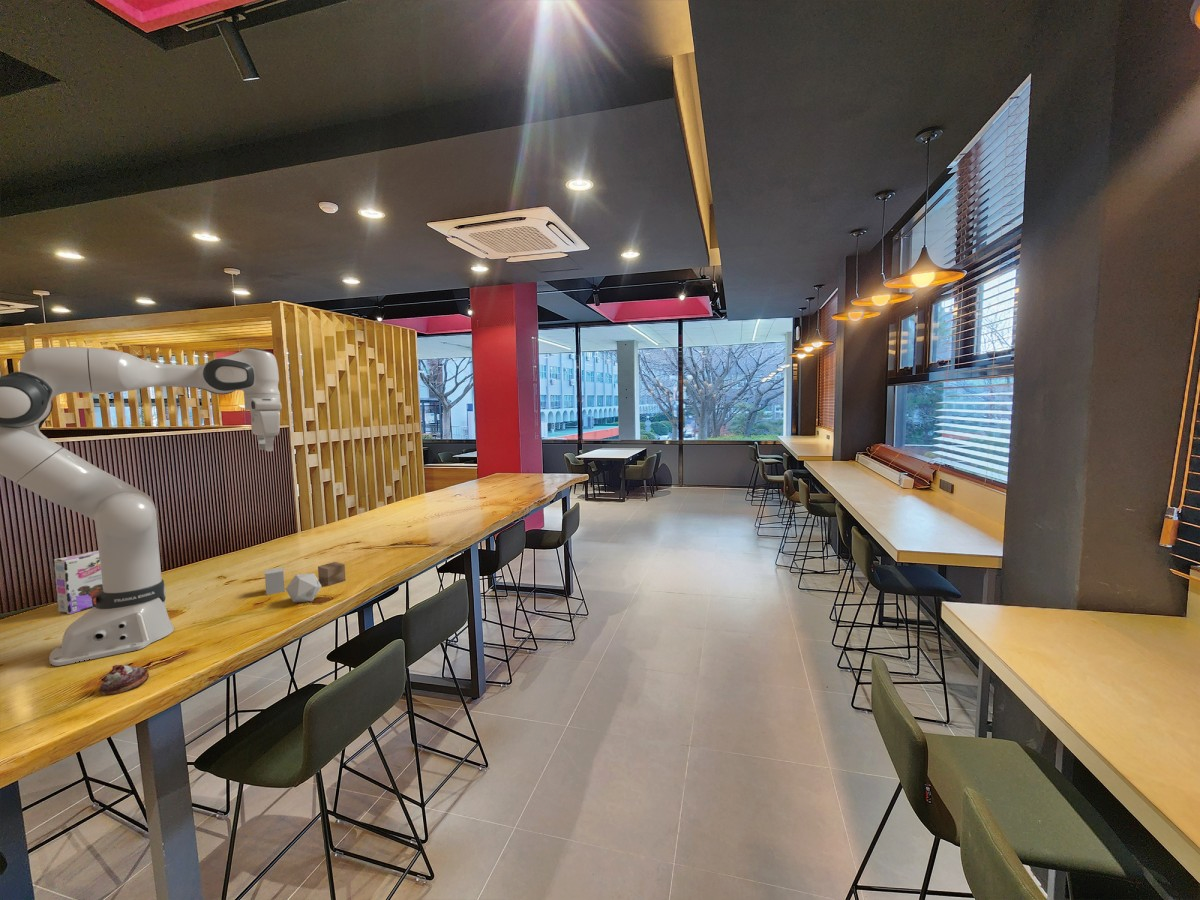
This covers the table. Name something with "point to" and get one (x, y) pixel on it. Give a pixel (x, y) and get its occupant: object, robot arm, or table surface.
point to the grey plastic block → (274, 581)
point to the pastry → (123, 679)
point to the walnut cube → (331, 573)
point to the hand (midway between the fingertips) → (266, 450)
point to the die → (303, 587)
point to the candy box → (77, 581)
